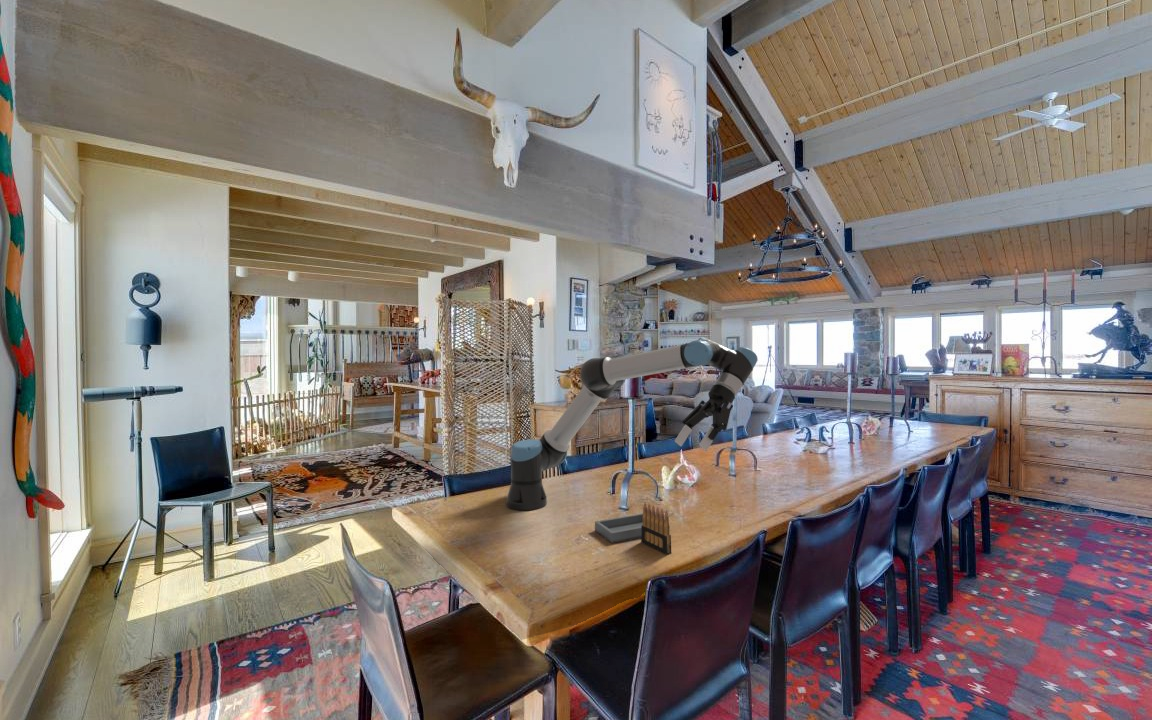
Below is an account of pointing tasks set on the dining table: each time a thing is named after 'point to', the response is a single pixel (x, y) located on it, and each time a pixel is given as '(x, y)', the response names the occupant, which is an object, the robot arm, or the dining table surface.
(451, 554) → the dining table surface
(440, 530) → the dining table surface
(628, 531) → the tray
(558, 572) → the dining table surface
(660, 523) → the ammunition clip
